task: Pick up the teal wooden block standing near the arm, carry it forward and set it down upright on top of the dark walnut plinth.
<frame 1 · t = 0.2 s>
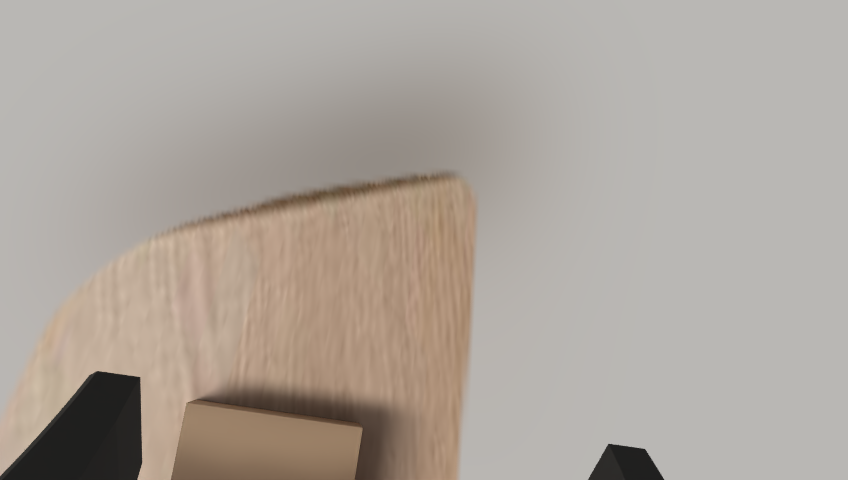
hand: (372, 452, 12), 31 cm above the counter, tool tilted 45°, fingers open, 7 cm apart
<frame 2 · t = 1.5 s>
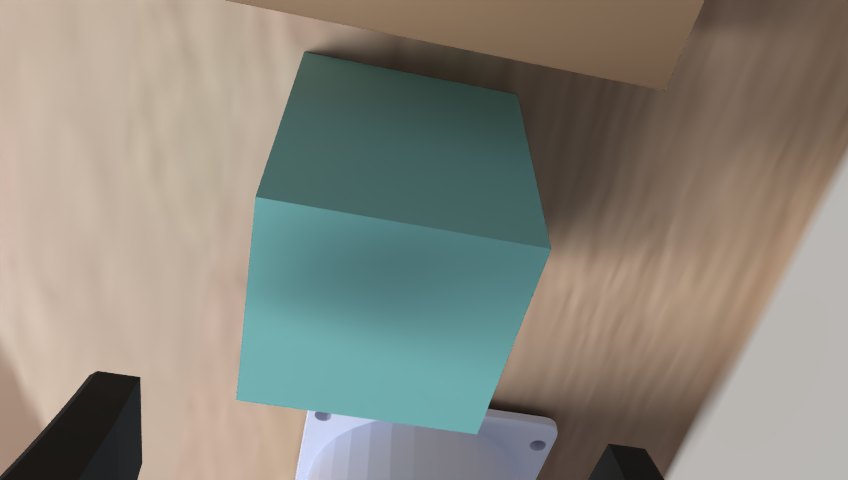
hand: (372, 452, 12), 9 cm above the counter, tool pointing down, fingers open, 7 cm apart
teal block: (392, 164, 19), on the counter
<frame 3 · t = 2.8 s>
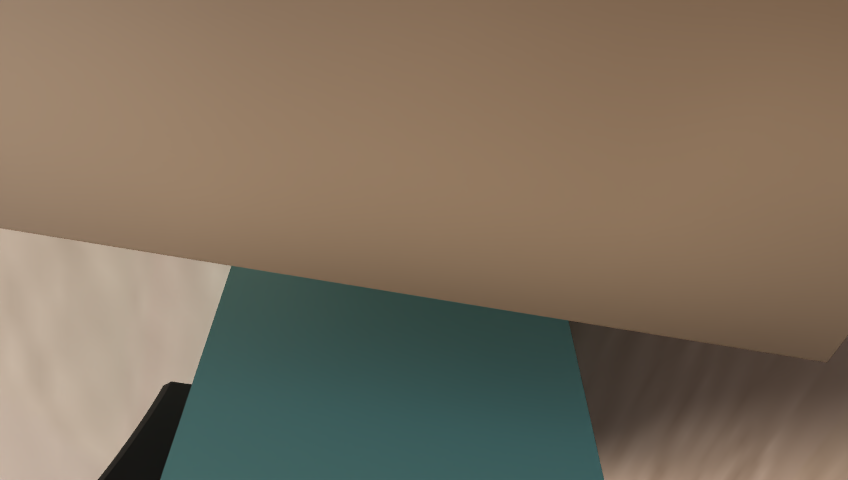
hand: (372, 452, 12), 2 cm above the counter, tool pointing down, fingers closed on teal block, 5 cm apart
teal block: (377, 374, 13), on the counter, touching gripper
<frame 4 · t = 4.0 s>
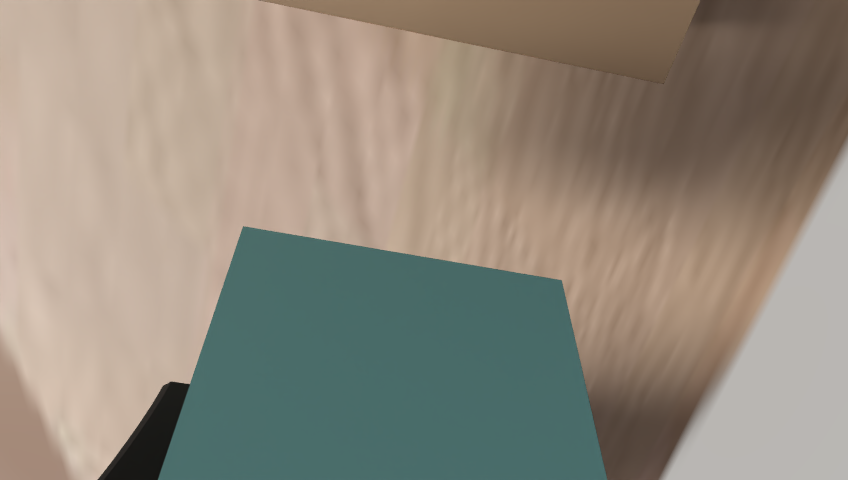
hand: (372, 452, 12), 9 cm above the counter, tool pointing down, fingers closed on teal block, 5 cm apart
teal block: (378, 365, 13), point 7 cm above the counter, touching gripper
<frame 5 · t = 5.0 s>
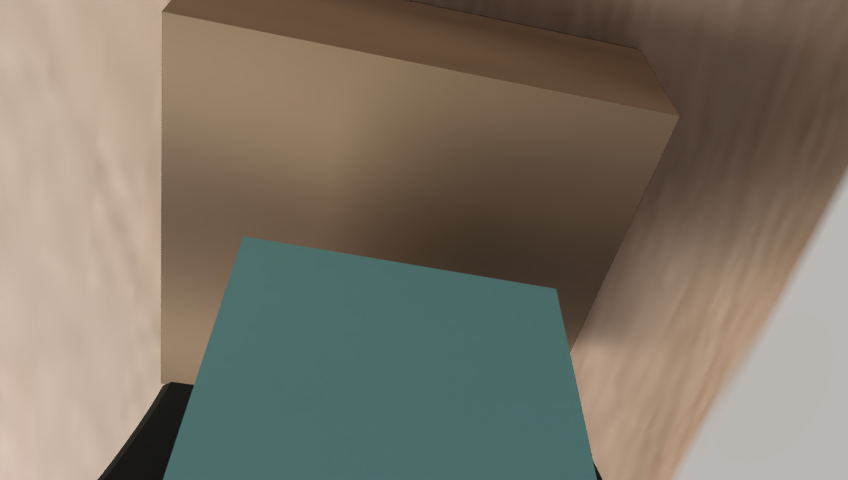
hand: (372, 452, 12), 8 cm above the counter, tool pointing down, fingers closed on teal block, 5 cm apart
walnut plinth: (390, 188, 18), on the counter
teal block: (376, 371, 13), point 6 cm above the counter, touching gripper
when the fingers open (6 cm above the counter, at t = 5.7 s): teal block drops 1 cm, resting on walnut plinth.
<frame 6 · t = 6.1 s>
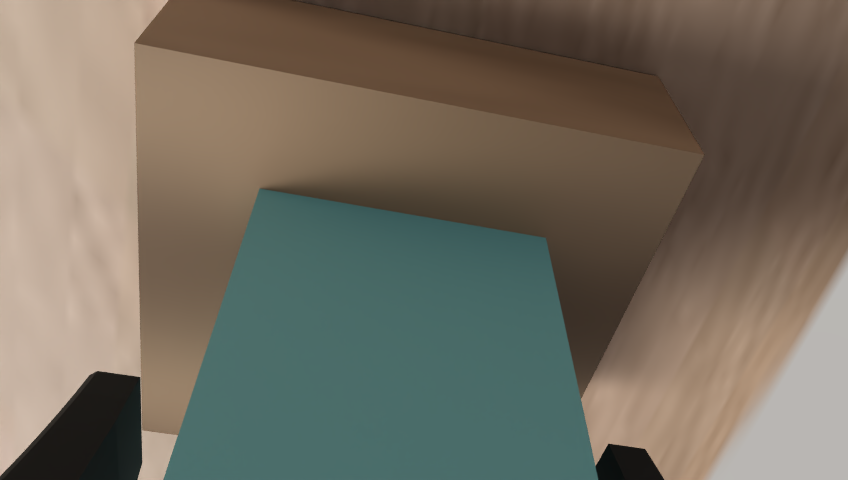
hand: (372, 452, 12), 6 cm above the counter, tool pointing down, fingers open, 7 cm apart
walnut plinth: (388, 221, 17), on the counter
teal block: (381, 318, 14), point 3 cm above the counter, touching walnut plinth
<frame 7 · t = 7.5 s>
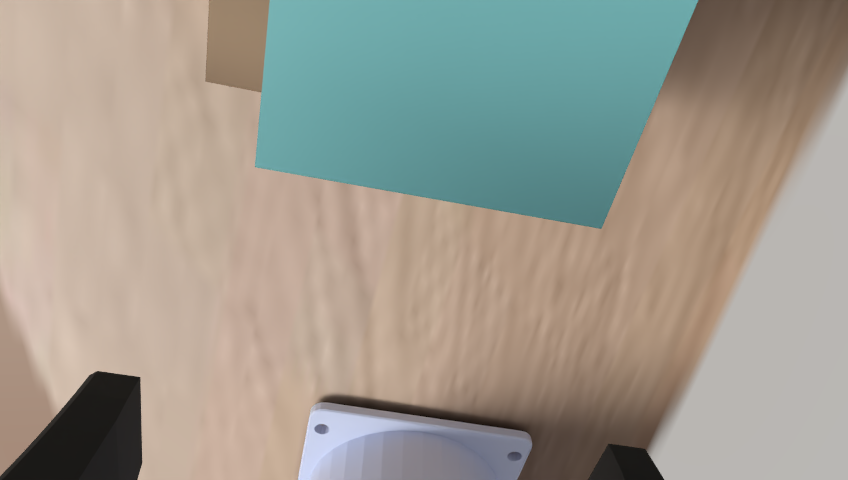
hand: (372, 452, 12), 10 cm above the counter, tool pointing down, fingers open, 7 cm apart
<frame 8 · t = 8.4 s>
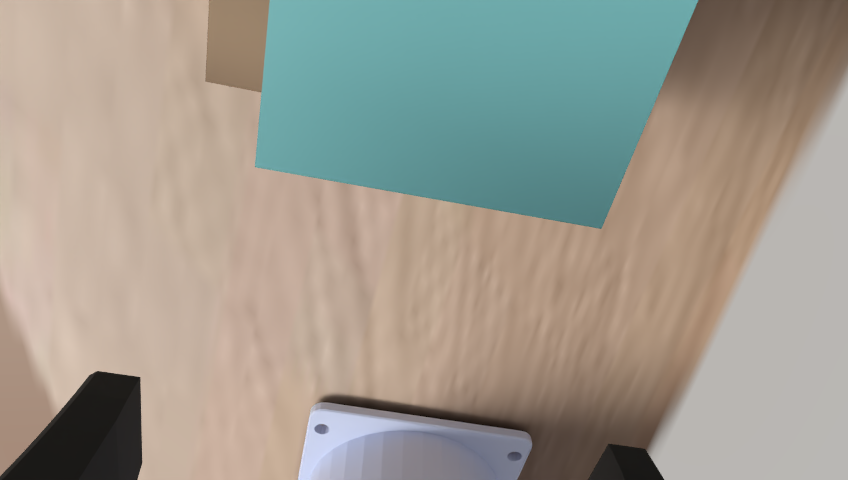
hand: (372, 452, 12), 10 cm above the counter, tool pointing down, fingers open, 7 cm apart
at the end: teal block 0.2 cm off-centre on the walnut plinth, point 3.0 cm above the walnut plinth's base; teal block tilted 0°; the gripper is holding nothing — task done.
